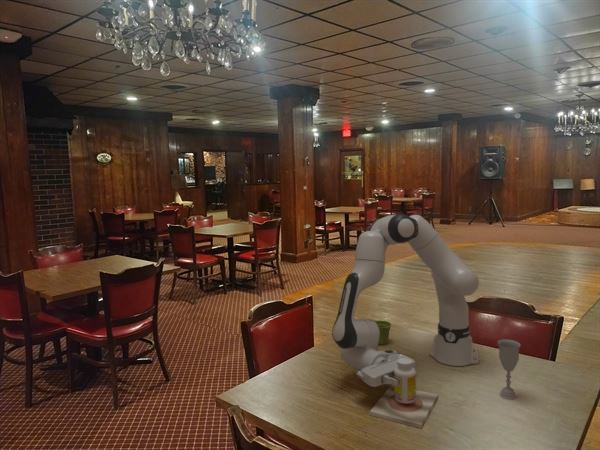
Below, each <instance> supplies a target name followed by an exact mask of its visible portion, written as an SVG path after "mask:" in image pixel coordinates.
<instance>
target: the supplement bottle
mask: <svg viewBox="0 0 600 450" xmlns="http://www.w3.org/2000/svg"><path fill="white" fill-rule="evenodd" d="M397 365H398V366H397V367H396V368H395V370H394V378H397V379H399V380H400V382H399V383H400V384H399V385H397V386H395V385H394V390H395V399H396V400H397V401H398V402H400V403H406V404H409V403H413V402H414V401H415V400H416V390H417V389H416V385H417V384H416V383H417V381H416V380H417V379H416V378H417V377H416V375H415V372H416V370H414V369H413V368H412V360H410V359H407V358H400V359H398V360H397Z"/></svg>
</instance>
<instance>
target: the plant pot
mask: <svg viewBox="0 0 600 450" xmlns="http://www.w3.org/2000/svg"><path fill="white" fill-rule="evenodd" d="M374 321H375V322H376V323H377V325H378V326H379V328H380V340H379V344H378V346H381V345H383V346H384V345H388V343H389V336H390V329H391V326H392V323H391V322H390V321H387V320H374Z"/></svg>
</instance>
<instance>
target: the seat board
mask: <svg viewBox="0 0 600 450" xmlns="http://www.w3.org/2000/svg"><path fill="white" fill-rule="evenodd" d="M438 399H439V394H437V393H432V392H427V391H425V390H424V391H423V390H418V389H416V400H415V401H414V402H413V403H409V404H406V403H400V402H398V401H397V400H396V399H395V390H394V385H393V384H390V385H389V387H388V388H387V389H386V391H385V392H384V393H383V394H382V396H381V397H380V398H379V400H378V401H377V402H376V403H375V405H374V406H373V407H372V408H371V410H370V411H369V415H370V416H373V417H377V418H380V419H384V420H387V421H391V422H396V423H399V424H403V425H407V426H411V427H414V428H418V429H422V428H423V427H424V425H425V423H426V421H427V419H428V417H429V415H430V414H431V412H432V410H433V408H434V406H435V405H436V403H437V401H438Z"/></svg>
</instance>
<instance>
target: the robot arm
mask: <svg viewBox="0 0 600 450" xmlns="http://www.w3.org/2000/svg"><path fill="white" fill-rule="evenodd" d="M356 243H357V244H356V248H355V254H354V263H353V266H352V270H351V272H350V273H349V274H348V276H347V277H346V278H345V281H344V285H343V289H342V291H341V292H342V293H341V298H340V302H339V307H338V309H337V310H338V311H337V312H338V313H337V314H336V315H337V316H336V318H335V321H334V324H333V326H332V331H331V335H332V339H333V341H334V342H335V344H336V345H337V346H338V347H339V348H340V350H339V353H340V356H341V358H342V360H343V361H344V362H345V363H346V364H347V365H348V366H350V367H352V368H353V369H355V370H357V371H356V377H358V378H360V379H361V380H362V381H363V382H364V383H365V384H367V385H368V386H370V387H374V388H377V387H380V386H382V385H384V384H385V385H391V384H392V385H395V386H397V385H399V384H400V383H399V382H400V380H399V379H397V378H394V370H395V368H396V367H397V366H398V365H397V360H398V359H400V358H407V359H410V360H412V368H413V369H414V370H415V375H416V378H417V377H418V372H417V371H416V369H417V368H416V360H415V359H414V358H411V357H409V356H406V355H404V354H401V353H398V352H397V350H393V349H390V350H377V349H378V347H379V345H378V344H379V340H380V328H379V326H378V325H377V323H376V322H375V321H376V320H373V319H365V318H364V319H361V318H360V319H357V318H356V319H354V318H355V313H356V309H357V304H358V298H359V296H360V294H361V293H362V292H363V291H365V290H366V289H367V288H369V287H373V286H375V285H377V284H379V282H380V281H381V280H382V279H383V277H384V275H385V269H386V266H385V265H386V252H387V249H388V247H389V246H390V245H391V246H394V245H395V246H396V245H398V244H405V243H408V244H409V245H410V247H411V249H413V250H414V252H415V253H416V255H417V256H418V257H419V258H420V260H421V261H422V262H423V264H425V266H427V267H428V268H429V269H430V273H431V277H432V279H433V282H434V287H435V291H436V295H437V302H438V323H437V334H435V335H434V337H433V349H432V350H431V351H430V352H429V356H430V357H433V358H434V360H436V361H438V362H439V363H441V364H443V365H446V366H447V365H448V366H452V367H453V366H454V367H464V366H469V365H477V364H479V362H480V360H479V354H478V347H476V346H473V344H474V342H473V338H472V336H471V335H470V334H471V328H470V323H469V305H468V302H467V300H466V297H467V296H472V295H474V294H475V293H476V291H478V289H479V285H480V280H479V277H478V275H477V274H476V273H475V272H474V271H473V270H472V269H471V268H470V267H469V266H468V265H467V264H466V263H465V262H464V261H463V260H462V259H461V258H460V257H459V256H458V254H456V253H455V251H453V250H452V249H451V248H450V247H449V246H448V244H447V243H446V242H445V240H444V239H443V238H442V236H440V234H439V233H438V231H436V229H435V228H434V227H433V226H432V225H431V224H430V223H429V221H428V220H426V219H425V217H423V216H421V215H420V214H411V215H408V214H402V213H398V214H391V215H390V214H389V215H386V216H383V217H380V218H377V219H375V220H373V222H372V223H371V224H370V225H369V228H368V230H367V231H364V232H362V233H361V234H360V235H359V237H358V240H357V242H356Z"/></svg>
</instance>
